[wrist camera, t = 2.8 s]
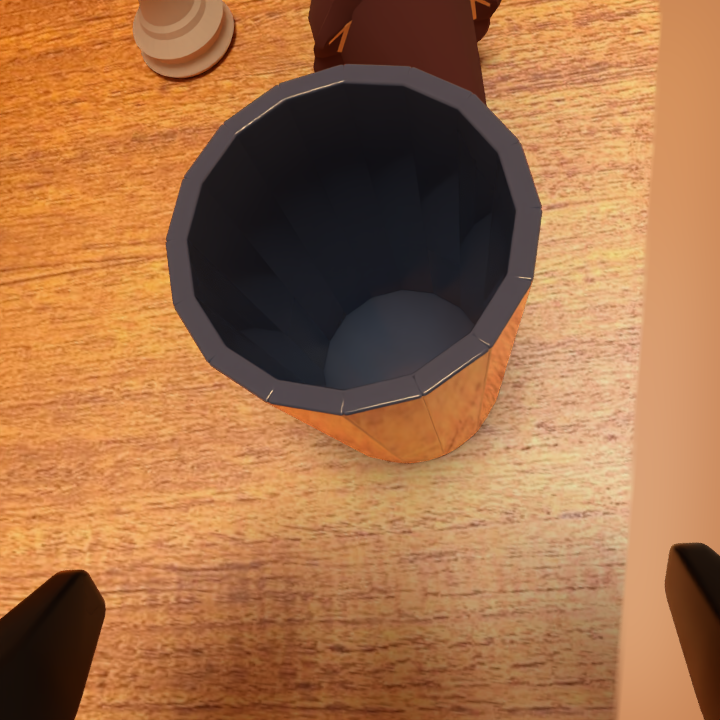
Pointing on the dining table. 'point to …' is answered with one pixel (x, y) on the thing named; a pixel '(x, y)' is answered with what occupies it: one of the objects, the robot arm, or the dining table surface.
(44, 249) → the dining table surface
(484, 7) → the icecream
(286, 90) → the cup
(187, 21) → the chess piece
